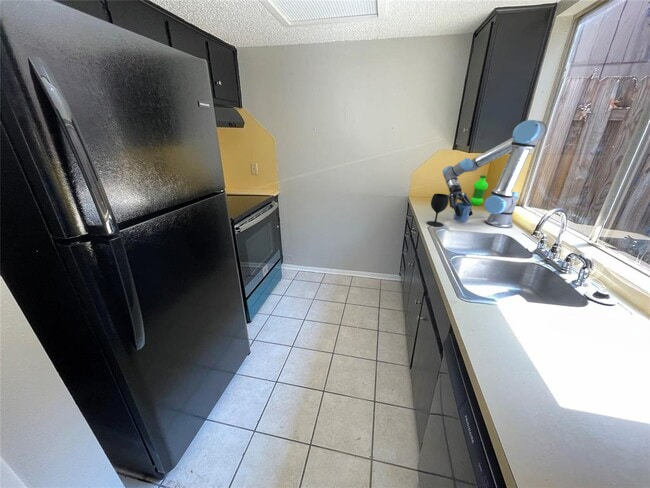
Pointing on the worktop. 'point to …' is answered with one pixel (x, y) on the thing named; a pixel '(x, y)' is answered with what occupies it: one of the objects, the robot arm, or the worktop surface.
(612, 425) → the worktop surface
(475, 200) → the plastic bottle
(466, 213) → the mug
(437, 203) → the wine glass
